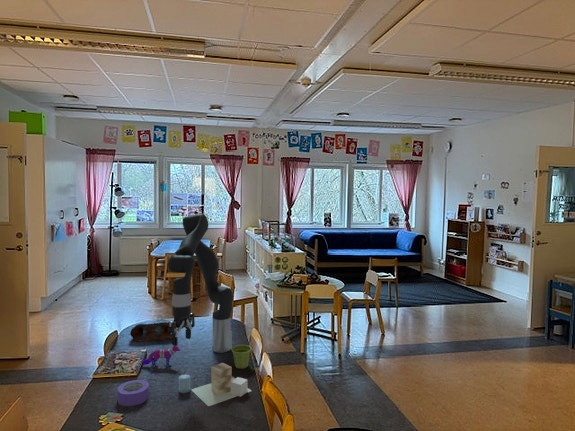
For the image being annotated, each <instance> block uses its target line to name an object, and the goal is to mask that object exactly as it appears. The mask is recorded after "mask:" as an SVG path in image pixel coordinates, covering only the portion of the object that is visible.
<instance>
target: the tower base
mask: <svg viewBox="0 0 575 431" xmlns="http://www.w3.org/2000/svg"><path fill="white" fill-rule="evenodd" d="M211 383H212V390H213V391H214V392H215V393H216V394H217V395H221V394H224V393H227V392H230V391H231V379H230V380H227V381H225V382H223V383H221V384H220V383H218V382H216V381H214V380H212V379H211Z"/></svg>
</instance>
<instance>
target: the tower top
mask: <svg viewBox="0 0 575 431" xmlns="http://www.w3.org/2000/svg"><path fill="white" fill-rule="evenodd" d="M232 369H233V368H232V366H231V365H228V364H226V363H224V362H220V363H218V364H216V365H213V366H211V367H210V378H211V381H212V380H214V381H216V382H218V383H220V384H221V383H223V382H225V381H227V380H230V379H232V375H233V374H232V373H233V371H232Z"/></svg>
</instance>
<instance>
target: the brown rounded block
mask: <svg viewBox="0 0 575 431" xmlns="http://www.w3.org/2000/svg"><path fill="white" fill-rule="evenodd" d="M175 329H178V328H175ZM171 333H172V331H171ZM175 333H176V331H175ZM175 333H174V334H175ZM129 335H130V336H131V338H132V339H133V340H134V341H135V342H136V343H139V342H140V341H141V342H142V343H145V342H151V340H153V339H154V342H157V341H164V339H165V338H168V339H169V340H170V341H172V337H170V336H168V322H165V321H164V322H153V323H139V324H136V325H134V327H132V329H131V330H130V333H129Z"/></svg>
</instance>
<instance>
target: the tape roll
mask: <svg viewBox="0 0 575 431" xmlns="http://www.w3.org/2000/svg"><path fill="white" fill-rule="evenodd" d="M149 388H150V387H149V382H148V381H146V380H143V379H134V380H133V379H132V380H128V381H126V382H123V383H122V384H120V385H119V386H118V387H117V403H118V404H119V405H120V406H123V407H132V406H133V407H134V406H138V405H140V404H141V405H142V404H143V403H145V402H146V401H148V400H149V397H150V394H149V393H150V392H149V391H150V389H149Z"/></svg>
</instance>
